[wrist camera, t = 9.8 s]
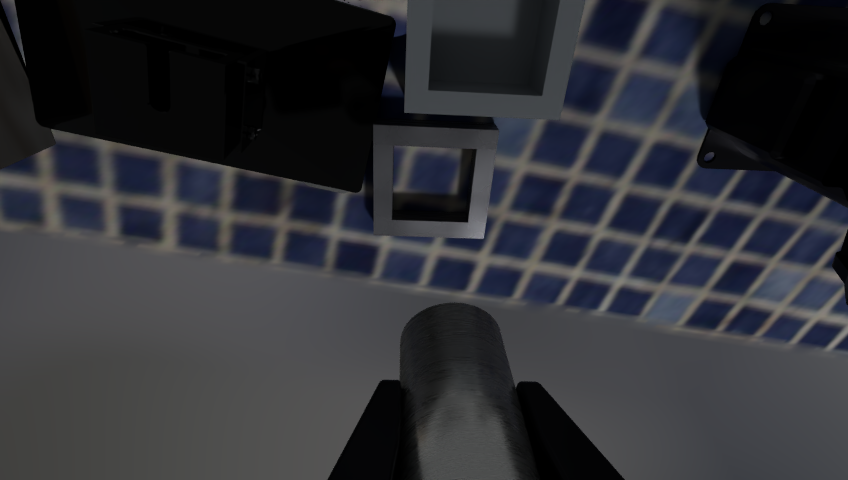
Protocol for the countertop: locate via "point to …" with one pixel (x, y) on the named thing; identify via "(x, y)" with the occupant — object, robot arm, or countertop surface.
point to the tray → (490, 56)
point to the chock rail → (17, 104)
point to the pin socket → (433, 135)
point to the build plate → (215, 79)
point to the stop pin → (459, 400)
